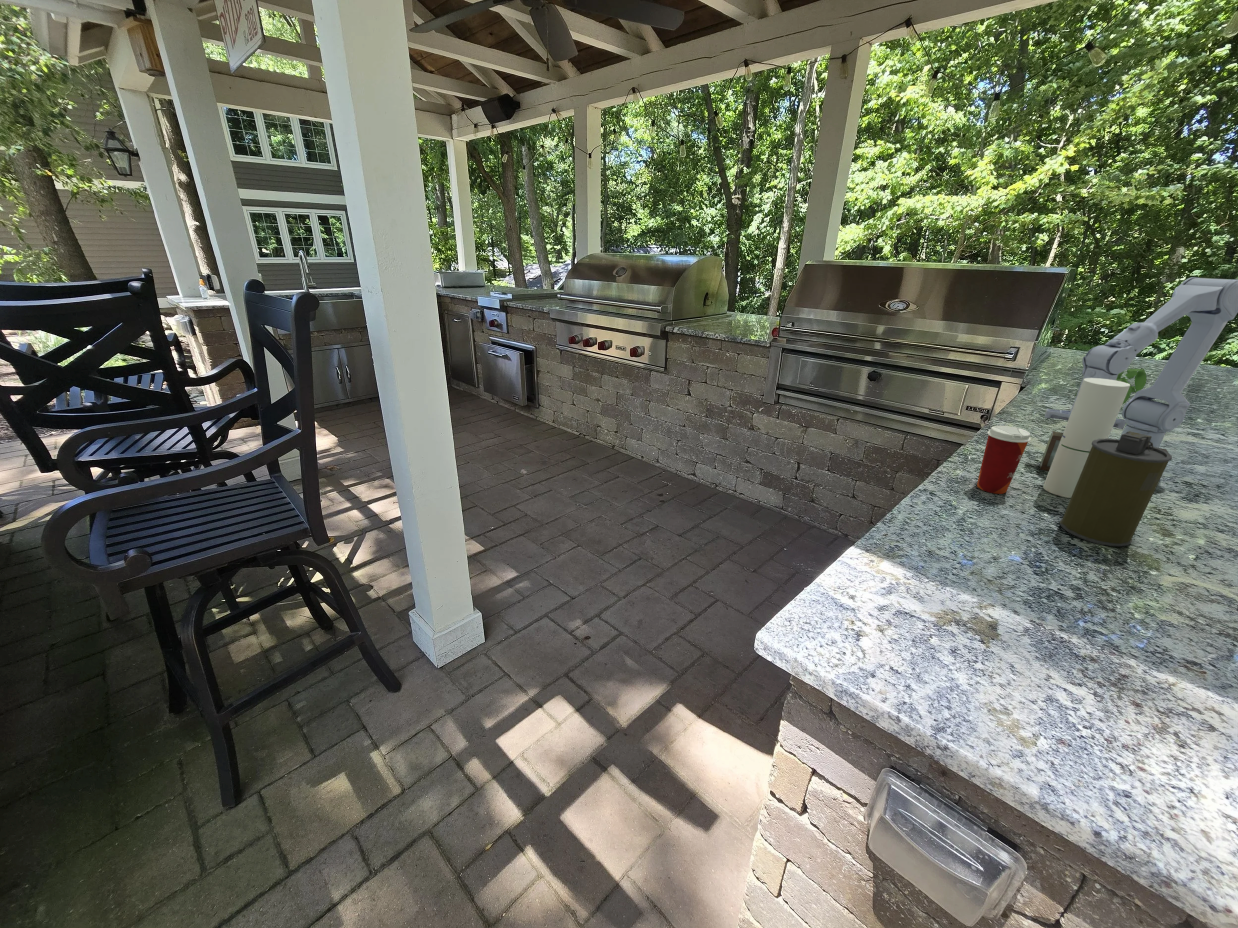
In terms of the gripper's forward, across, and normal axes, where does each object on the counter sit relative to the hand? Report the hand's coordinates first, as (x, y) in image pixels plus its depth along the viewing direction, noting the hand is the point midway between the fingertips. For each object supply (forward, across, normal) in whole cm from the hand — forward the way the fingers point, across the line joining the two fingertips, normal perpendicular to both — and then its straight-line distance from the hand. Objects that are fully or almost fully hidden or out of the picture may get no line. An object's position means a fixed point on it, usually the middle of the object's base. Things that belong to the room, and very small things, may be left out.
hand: (1071, 450), depth 124 cm
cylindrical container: (+4, -1, -20) cm, 20 cm away
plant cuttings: (+4, +13, +48) cm, 50 cm away
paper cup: (+4, -14, -28) cm, 32 cm away
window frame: (+4, +5, -6) cm, 9 cm away
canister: (+4, +3, -39) cm, 39 cm away
